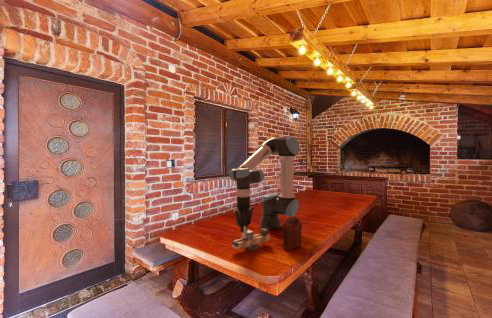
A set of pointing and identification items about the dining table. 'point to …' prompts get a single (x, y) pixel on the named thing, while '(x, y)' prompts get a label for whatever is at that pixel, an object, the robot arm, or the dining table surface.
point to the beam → (252, 241)
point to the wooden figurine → (292, 233)
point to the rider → (249, 235)
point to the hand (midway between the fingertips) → (244, 237)
